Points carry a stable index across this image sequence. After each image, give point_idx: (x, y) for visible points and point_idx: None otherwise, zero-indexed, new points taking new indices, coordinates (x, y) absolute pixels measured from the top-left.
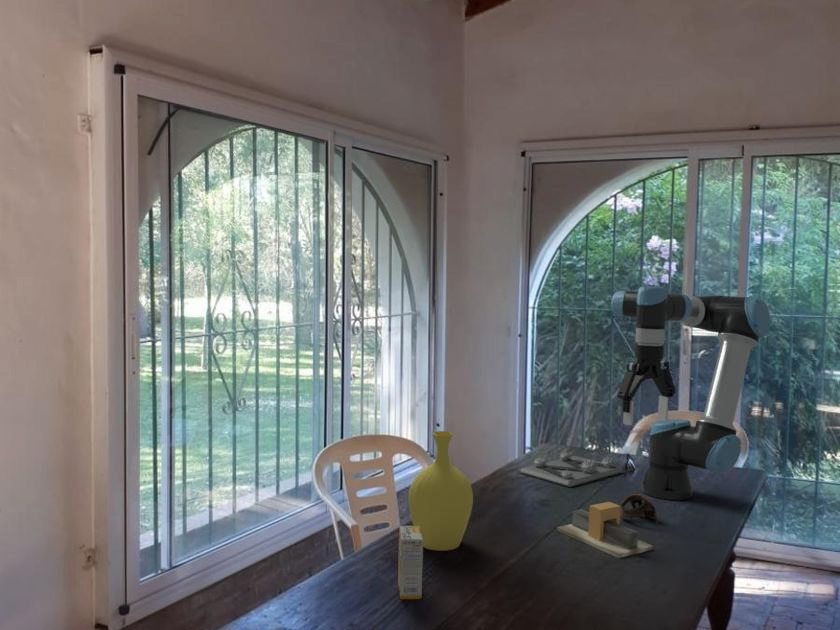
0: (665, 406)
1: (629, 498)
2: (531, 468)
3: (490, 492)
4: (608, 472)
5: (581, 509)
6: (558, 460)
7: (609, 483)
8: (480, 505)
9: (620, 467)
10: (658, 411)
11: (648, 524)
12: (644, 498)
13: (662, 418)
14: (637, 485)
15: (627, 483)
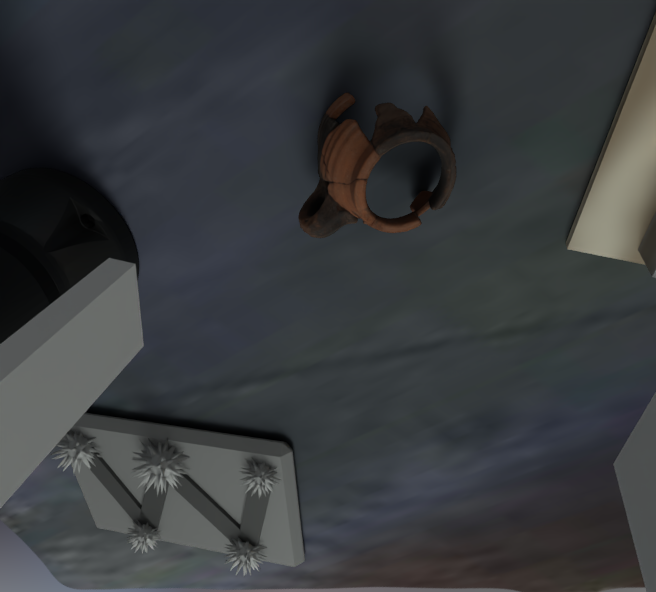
0: (31, 368)
1: (380, 218)
2: (278, 553)
3: (511, 548)
4: (111, 425)
5: (653, 275)
6: (164, 537)
7: (158, 391)
8: None
9: None
10: (98, 393)
11: (395, 100)
12: (377, 153)
13: (129, 308)
14: None
15: None
